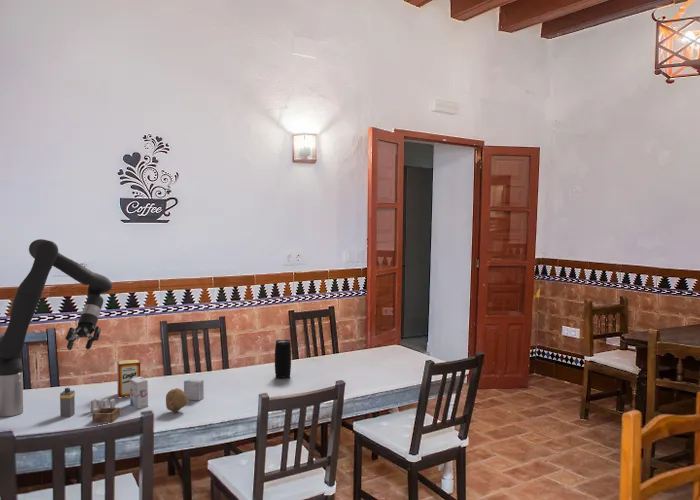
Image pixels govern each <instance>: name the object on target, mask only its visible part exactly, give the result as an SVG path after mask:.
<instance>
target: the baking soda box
mask: <svg viewBox="0 0 700 500" xmlns="http://www.w3.org/2000/svg"><path fill="white" fill-rule="evenodd" d="M116 363H117V367H116V368H117V371H116V372H117V375H116V376H117V397H118V398H119V397H122V398H126V397H125V396H130V379H131V378H136V377H141V361H140V359H130V360H129V359H125V360H119V361H117V362H116Z"/></svg>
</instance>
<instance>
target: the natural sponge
mask: <svg viewBox="0 0 700 500" xmlns="http://www.w3.org/2000/svg"><path fill="white" fill-rule="evenodd" d="M188 401H189V400H188V398H187V396H186V394H185V393H184V390H183V389H180V388H178V387H177V388H176V387H175V388H172V389H170V390H169V391H168V392H167V393H166V395H165V406H166V407H165V408H166V409H167V410H168V411H171V412H172V413H176V412H179V411H180V410H181V409H182V408H184V407H186V406H187V405H188Z"/></svg>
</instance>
